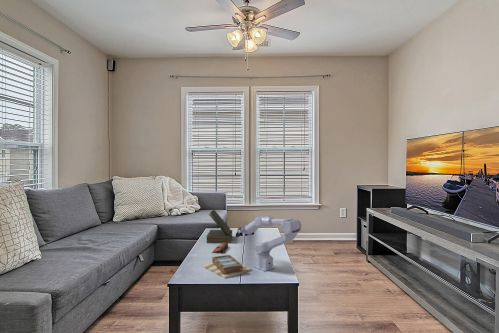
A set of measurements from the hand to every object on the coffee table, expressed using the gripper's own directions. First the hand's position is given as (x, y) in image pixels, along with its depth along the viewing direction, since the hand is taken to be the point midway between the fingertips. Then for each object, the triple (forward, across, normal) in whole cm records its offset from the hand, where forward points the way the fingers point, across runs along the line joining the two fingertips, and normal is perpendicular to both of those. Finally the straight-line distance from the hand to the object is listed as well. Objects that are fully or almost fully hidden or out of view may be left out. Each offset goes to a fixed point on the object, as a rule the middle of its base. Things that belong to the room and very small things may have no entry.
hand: (240, 235), depth 200 cm
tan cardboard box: (+2, +17, +18) cm, 25 cm away
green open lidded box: (+51, -20, -14) cm, 57 cm away
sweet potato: (+32, -3, 0) cm, 32 cm away
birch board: (+3, +17, +19) cm, 25 cm away
